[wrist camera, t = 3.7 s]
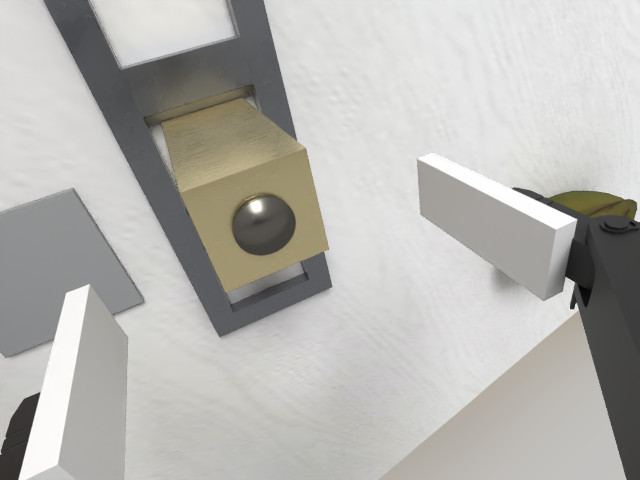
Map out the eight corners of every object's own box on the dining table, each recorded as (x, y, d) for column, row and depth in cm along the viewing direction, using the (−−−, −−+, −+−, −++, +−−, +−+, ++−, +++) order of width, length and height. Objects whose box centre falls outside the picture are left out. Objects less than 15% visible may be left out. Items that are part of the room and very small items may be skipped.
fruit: (541, 159, 37) (608, 184, 32) (600, 189, 43) (664, 213, 38) (480, 260, 41) (531, 297, 36) (542, 274, 47) (593, 307, 42)
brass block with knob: (193, 196, 26) (227, 297, 17) (160, 122, 23) (180, 196, 14) (264, 170, 27) (331, 252, 18) (241, 97, 24) (308, 150, 15)
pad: (7, 353, 26) (5, 358, 25) (-104, 246, 21) (-108, 250, 20) (143, 298, 28) (143, 301, 27) (73, 187, 22) (72, 190, 22)
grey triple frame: (217, 329, 32) (219, 337, 31) (-24, -137, 16) (-33, -145, 15) (327, 280, 34) (332, 286, 33) (215, -173, 18) (219, -182, 17)
